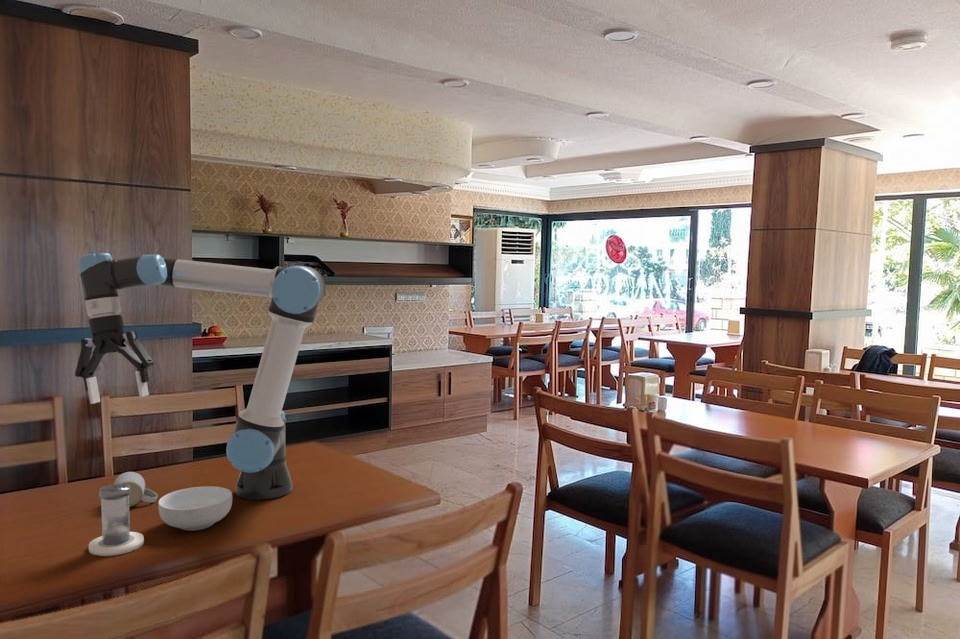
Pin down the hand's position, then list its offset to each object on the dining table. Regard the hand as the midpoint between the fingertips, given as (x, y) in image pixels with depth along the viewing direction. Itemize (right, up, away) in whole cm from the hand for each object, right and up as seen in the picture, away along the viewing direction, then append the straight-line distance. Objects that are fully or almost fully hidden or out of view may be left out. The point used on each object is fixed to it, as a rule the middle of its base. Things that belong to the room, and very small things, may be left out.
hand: (119, 399), depth 177 cm
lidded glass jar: (+9, -29, -19) cm, 36 cm away
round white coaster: (+9, -31, -19) cm, 37 cm away
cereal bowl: (+21, -30, -5) cm, 37 cm away
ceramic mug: (-1, -29, +10) cm, 30 cm away
